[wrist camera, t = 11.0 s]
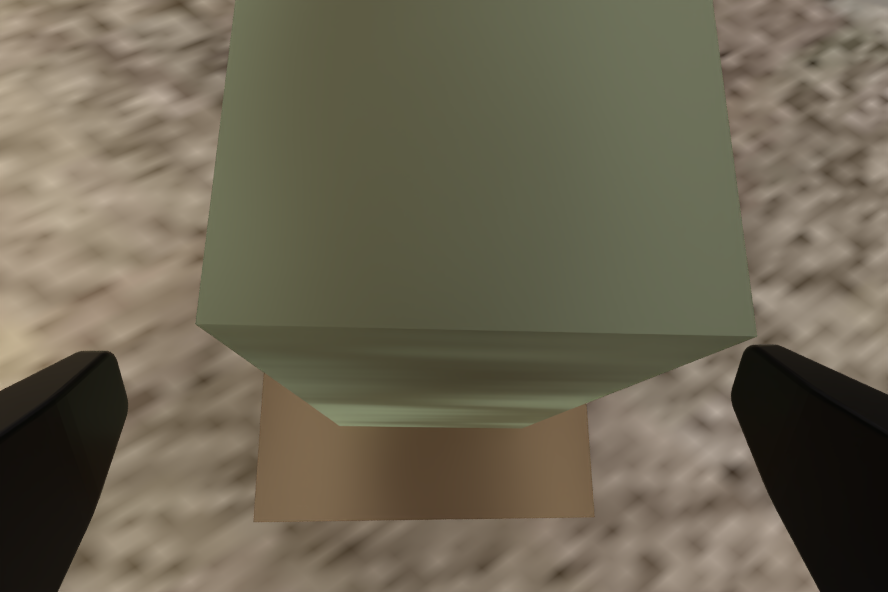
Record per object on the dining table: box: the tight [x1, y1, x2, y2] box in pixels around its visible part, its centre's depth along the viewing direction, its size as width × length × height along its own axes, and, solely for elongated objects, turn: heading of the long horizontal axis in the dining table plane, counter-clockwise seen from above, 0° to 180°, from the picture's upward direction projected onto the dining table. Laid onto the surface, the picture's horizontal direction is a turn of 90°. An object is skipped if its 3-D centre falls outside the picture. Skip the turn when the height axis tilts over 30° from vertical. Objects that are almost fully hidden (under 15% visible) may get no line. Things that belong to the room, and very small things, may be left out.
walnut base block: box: [253, 373, 595, 522], centre depth 20 cm, size 9×9×4 cm
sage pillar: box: [195, 0, 757, 428], centre depth 12 cm, size 5×5×12 cm
